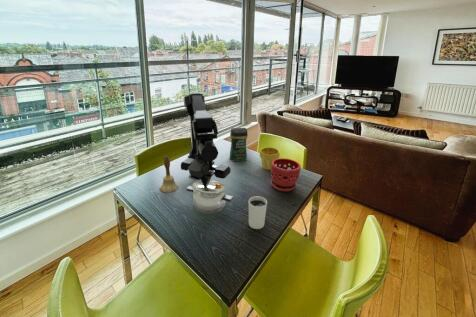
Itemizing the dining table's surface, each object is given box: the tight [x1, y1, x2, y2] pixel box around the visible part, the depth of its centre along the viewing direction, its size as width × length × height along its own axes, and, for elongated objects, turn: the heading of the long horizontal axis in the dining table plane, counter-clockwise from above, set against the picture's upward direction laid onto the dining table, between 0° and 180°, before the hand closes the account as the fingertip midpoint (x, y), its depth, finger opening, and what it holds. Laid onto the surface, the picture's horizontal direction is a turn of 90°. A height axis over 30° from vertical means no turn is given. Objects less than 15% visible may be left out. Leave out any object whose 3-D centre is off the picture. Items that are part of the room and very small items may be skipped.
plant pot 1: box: [259, 146, 281, 171], centre depth 135 cm, size 10×10×10 cm
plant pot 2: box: [270, 157, 302, 192], centre depth 117 cm, size 13×13×12 cm
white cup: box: [248, 195, 268, 230], centre depth 93 cm, size 7×7×10 cm
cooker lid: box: [192, 179, 227, 194], centre depth 102 cm, size 13×13×2 cm
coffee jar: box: [229, 127, 249, 162], centre depth 143 cm, size 10×8×19 cm
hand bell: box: [159, 155, 179, 193], centre depth 114 cm, size 8×8×16 cm
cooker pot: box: [185, 185, 234, 215], centre depth 105 cm, size 20×14×6 cm
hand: (205, 187), depth 100 cm, fingers closed, pressing on cooker lid
